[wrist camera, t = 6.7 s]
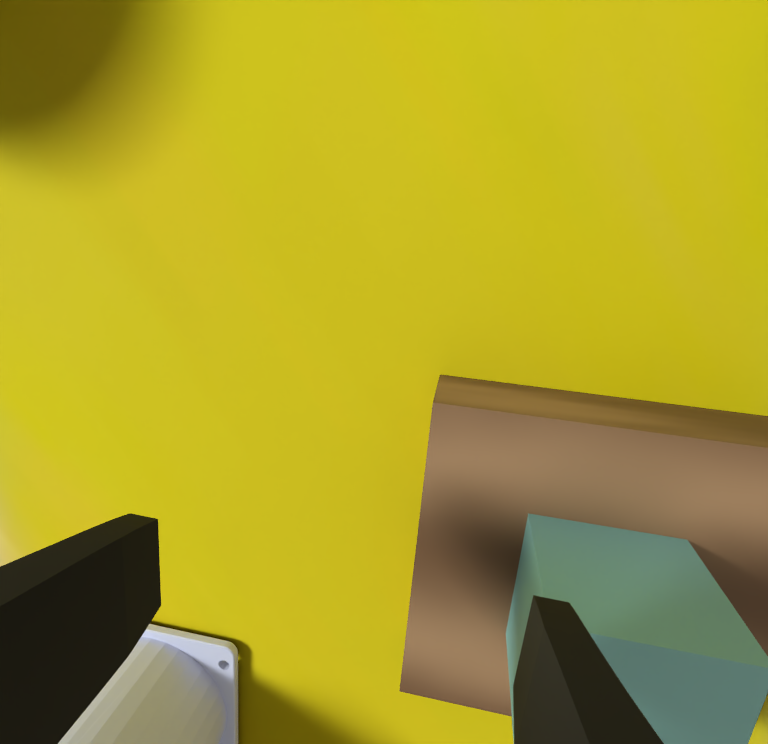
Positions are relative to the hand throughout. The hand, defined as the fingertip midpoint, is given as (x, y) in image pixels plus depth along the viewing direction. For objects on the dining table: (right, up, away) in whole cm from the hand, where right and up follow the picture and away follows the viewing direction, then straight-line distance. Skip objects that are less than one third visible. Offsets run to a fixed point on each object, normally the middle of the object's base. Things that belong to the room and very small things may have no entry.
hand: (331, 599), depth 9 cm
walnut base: (+8, -2, +9) cm, 12 cm away
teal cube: (+7, -2, +6) cm, 10 cm away
